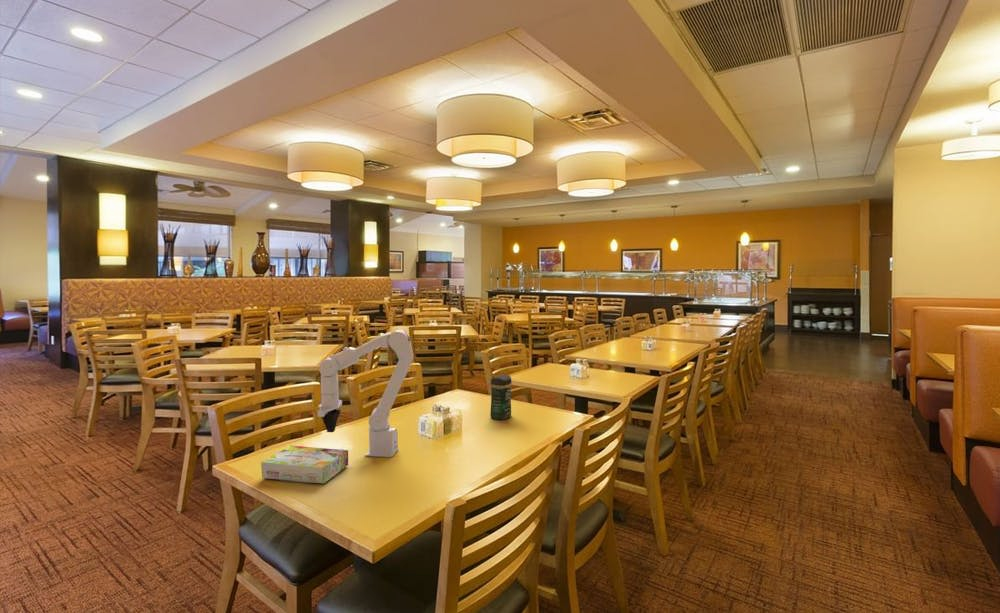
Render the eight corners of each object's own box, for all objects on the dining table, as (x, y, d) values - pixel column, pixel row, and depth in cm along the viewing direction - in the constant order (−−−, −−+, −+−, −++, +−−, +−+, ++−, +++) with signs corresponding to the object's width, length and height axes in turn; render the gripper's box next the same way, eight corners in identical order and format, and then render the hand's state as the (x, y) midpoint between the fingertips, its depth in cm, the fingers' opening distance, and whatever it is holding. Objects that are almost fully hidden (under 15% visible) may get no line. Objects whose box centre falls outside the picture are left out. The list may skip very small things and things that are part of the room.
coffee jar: (503, 421, 207) (503, 378, 206) (487, 418, 211) (487, 376, 210) (514, 415, 215) (514, 374, 214) (499, 413, 219) (499, 372, 218)
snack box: (348, 448, 158) (323, 467, 143) (349, 464, 159) (324, 485, 144) (290, 444, 162) (259, 462, 147) (291, 460, 163) (260, 480, 148)
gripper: (328, 387, 175) (329, 424, 175) (308, 397, 160) (309, 438, 161) (347, 388, 174) (348, 425, 175) (328, 398, 159) (329, 438, 160)
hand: (330, 431), depth 168 cm, fingers closed
